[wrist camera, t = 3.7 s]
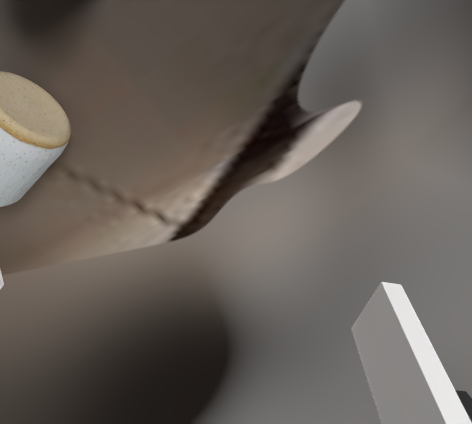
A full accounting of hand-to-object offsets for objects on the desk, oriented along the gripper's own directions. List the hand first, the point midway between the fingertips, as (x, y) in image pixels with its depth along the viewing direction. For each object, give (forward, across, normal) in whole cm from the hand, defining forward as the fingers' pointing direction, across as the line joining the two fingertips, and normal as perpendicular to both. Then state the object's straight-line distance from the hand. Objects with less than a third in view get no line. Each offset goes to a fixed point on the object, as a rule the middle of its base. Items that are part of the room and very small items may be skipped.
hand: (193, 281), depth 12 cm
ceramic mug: (+21, -17, -5) cm, 27 cm away
